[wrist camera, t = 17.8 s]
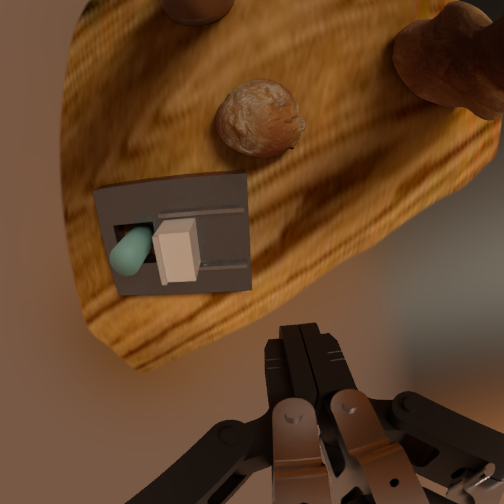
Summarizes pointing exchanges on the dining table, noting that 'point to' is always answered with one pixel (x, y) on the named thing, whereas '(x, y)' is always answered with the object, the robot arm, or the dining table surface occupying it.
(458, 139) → the dining table surface
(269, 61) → the dining table surface
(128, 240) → the peg
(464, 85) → the ceramic vessel
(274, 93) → the bread roll
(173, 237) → the block
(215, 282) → the housing
